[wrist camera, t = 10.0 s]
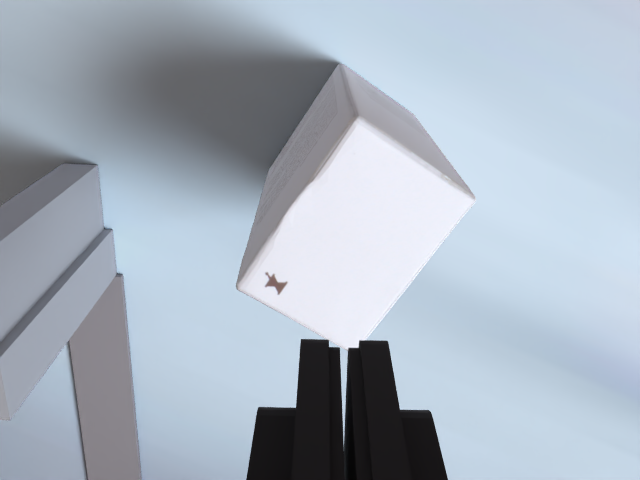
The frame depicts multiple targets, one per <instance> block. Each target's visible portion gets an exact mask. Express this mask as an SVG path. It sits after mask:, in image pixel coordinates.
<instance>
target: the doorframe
mask: <svg viewBox="0 0 640 480" xmlns="http://www.w3.org/2000/svg"><path fill="white" fill-rule="evenodd" d="M68 341H69V343H70V351H71V358H72V365H73V373H74V380H75V387H76V395H77V402H78V409H79V417H80V424H81V431H82V439H83V446H84V453H85V461H86V468H87V475H88V480H142V477H141V466H140V456H139V445H138V434H137V423H136V412H135V401H134V390H133V379H132V368H131V358H130V347H129V336H128V325H127V314H126V303H125V292H124V281H123V275H122V274H117V271H116V260H115V250H114V239H113V230H111V229H104V222H103V212H102V202H101V192H100V182H99V173H98V165H88V164H66V163H63V164H61V165H60V166H58V167H57V168H55V169H54V170H52V171H51V172H50V173H48V174H47V175H45V176H44V177H42V178H41V179H39V180H38V181H36V182H35V183H33V184H32V185H30V186H29V187H27V188H26V189H24V190H23V191H21V192H20V193H19V194H17V195H16V196H14V197H13V198H11V199H10V200H8V201H7V202H5V203H4V204H2V205H1V206H0V420H11V419H12V417H13V416H14V415H15V413H16V412H17V411H18V409H19V408H20V407H21V405H22V404H23V402H24V401H25V400H26V398H27V397H28V396H29V394H30V393H31V391H32V390H33V389H34V387H35V386H36V385H37V383H38V382H39V380H40V379H41V378H42V376H43V375H44V374H45V372H46V371H47V369H48V368H49V367H50V365H51V364H52V363H53V361H54V360H55V358H56V357H57V356H58V354H59V353H60V352H61V350H62V349H63V347H64V346H65V345H66V343H67V342H68Z"/></svg>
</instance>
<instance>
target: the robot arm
mask: <svg viewBox="0 0 640 480" xmlns="http://www.w3.org/2000/svg"><path fill="white" fill-rule="evenodd" d="M246 480H448V478H447V474H446V470H445V466H444V462H443V458H442V454H441V450H440V446H439V441H438V437H437V433H436V429H435V425H434V421H433V417H432V414H431V412H430V411H429V410H400V408H399V402H398V397H397V391H396V385H395V379H394V373H393V368H392V362H391V356H390V350H389V344H388V341H368V340H359V348H348V363H347V387H346V412H345V436H344V446H343V421H342V395H341V369H340V348H339V347H329V340H315V339H301V345H300V360H299V374H298V389H297V404H296V408H276V407H259V408H258V411H257V416H256V422H255V429H254V435H253V441H252V448H251V454H250V460H249V467H248V473H247V479H246Z"/></svg>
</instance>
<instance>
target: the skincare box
mask: <svg viewBox="0 0 640 480" xmlns="http://www.w3.org/2000/svg"><path fill="white" fill-rule="evenodd" d="M475 202H476V198H475V196H474V194H473V193H472V192H471V190H470V189H469V187H468V186H467V185H466V183H465V182H464V181H463V180H462V178H461V177H460V176H459V174H458V173H457V172H456V170H455V169H454V167H453V166H452V165H451V164H450V162H449V161H448V160H447V158H446V157H445V156H444V154H443V153H442V152H441V150H440V149H439V148H438V146H437V145H436V143H435V142H434V141H433V139H432V138H431V137H430V135H429V134H428V133H427V131H426V130H425V129H424V128H423V126H422V125H421V123H420V122H419V121H418V119H417V118H416V117H415V115H414V114H413V113H411V112H410V111H408V110H407V109H405V108H404V107H403V106H401V105H400V104H398V103H397V102H396V101H394V100H393V99H391V98H390V97H389V96H387V95H386V94H385V93H383V92H382V91H380V90H379V89H378V88H376V87H375V86H374V85H372V84H371V83H369V82H368V81H367V80H365V79H364V78H363V77H361V76H360V75H358V74H357V73H355V72H354V71H353V70H351V69H350V68H348V67H347V66H345V65H344V64H341V63H340V64H338V65H337V67H336V68H335V70H334V71H333V73H332V74H331V76H330V77H329V79H328V80H327V82H326V83H325V85H324V86H323V88H322V89H321V91H320V92H319V94H318V95H317V97H316V98H315V100H314V101H313V103H312V105H311V106H310V108H309V109H308V111H307V112H306V114H305V115H304V117H303V118H302V120H301V121H300V123H299V124H298V126H297V127H296V129H295V130H294V132H293V133H292V135H291V137H290V138H289V140H288V141H287V143H286V144H285V146H284V147H283V149H282V150H281V152H280V153H279V155H278V156H277V158H276V160H275V161H274V163H273V164H272V166H271V167H270V169H269V170H268V173H267V177H266V180H265V184H264V187H263V191H262V194H261V198H260V202H259V205H258V209H257V212H256V216H255V219H254V223H253V226H252V229H251V233H250V236H249V240H248V243H247V247H246V250H245V253H244V256H243V259H242V263H241V267H240V271H239V275H238V279H237V283H236V288H237V290H239V291H241V292H243V293H244V294H246V295H248V296H250V297H252V298H254V299H256V300H257V301H259V302H261V303H263V304H265V305H267V306H269V307H270V308H272V309H274V310H276V311H278V312H280V313H281V314H283V315H285V316H287V317H289V318H291V319H292V320H294V321H296V322H298V323H299V324H301V325H303V326H304V327H306V328H308V329H310V330H312V331H313V332H315V333H317V334H318V335H320V336H322V337H324V338H325V339H327V340H329V341H331V342H333V343H334V344H336V345H338V346H340V347H342V348H344V349H346V350H347V351H348V348H359V340H366V339H367V338H368V336H369V335H370V334H371V333H372V331H373V330H374V329H375V328H376V326H377V325H378V324H379V323H380V321H381V320H382V319H383V318H384V316H385V315H386V314H387V313H388V311H389V310H390V309H391V308H392V306H393V305H394V304H395V303H396V301H397V300H398V299H399V298H400V296H401V295H402V294H403V293H404V291H405V290H406V289H407V288H408V286H409V285H410V284H411V282H412V281H413V280H414V278H415V277H416V276H417V275H418V273H419V272H420V271H421V269H422V268H423V267H424V266H425V264H426V263H427V262H428V260H429V259H430V258H431V257H432V255H433V254H434V253H435V251H436V250H437V249H438V248H439V246H440V245H441V244H442V243H443V241H444V240H445V239H446V238H447V236H448V235H449V234H450V233H451V231H452V230H453V229H454V228H455V226H456V225H457V224H458V223H459V221H460V220H461V219H462V218H463V216H464V215H465V214H466V213H467V211H468V210H469V209H470V208H471V207H472V206H473V205H474V203H475Z"/></svg>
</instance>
